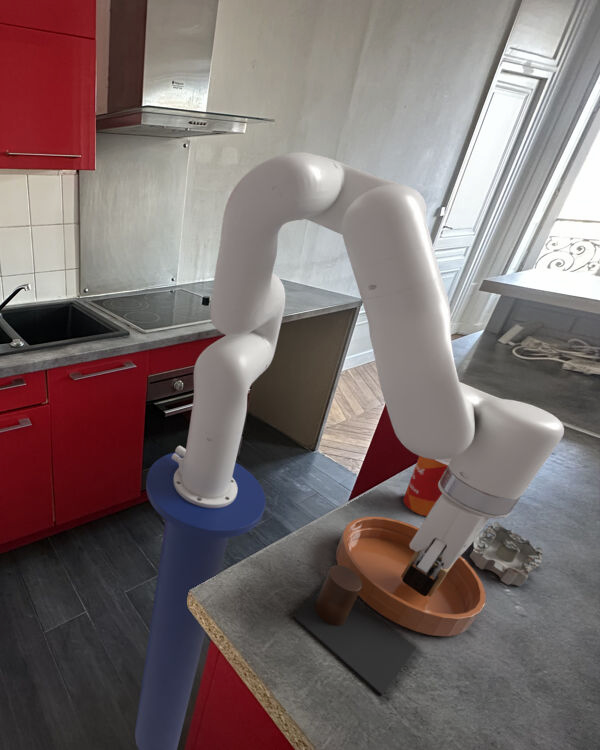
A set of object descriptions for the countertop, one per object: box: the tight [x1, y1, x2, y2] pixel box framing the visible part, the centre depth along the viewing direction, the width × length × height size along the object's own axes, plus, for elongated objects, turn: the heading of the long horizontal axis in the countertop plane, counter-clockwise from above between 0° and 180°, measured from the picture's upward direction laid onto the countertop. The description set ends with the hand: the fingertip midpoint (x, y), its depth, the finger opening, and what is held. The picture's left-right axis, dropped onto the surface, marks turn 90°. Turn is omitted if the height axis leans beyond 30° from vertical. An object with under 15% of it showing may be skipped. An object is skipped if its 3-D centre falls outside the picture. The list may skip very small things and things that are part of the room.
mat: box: [292, 589, 417, 697], centre depth 57 cm, size 12×10×1 cm
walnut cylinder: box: [315, 564, 362, 626], centre depth 58 cm, size 4×4×8 cm
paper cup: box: [403, 455, 452, 517], centre depth 77 cm, size 8×8×14 cm
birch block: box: [401, 549, 456, 597], centre depth 61 cm, size 4×4×6 cm
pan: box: [335, 516, 487, 637], centre depth 64 cm, size 18×18×4 cm
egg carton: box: [468, 520, 544, 587], centre depth 69 cm, size 11×8×4 cm
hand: (421, 579), depth 62 cm, fingers closed on birch block, 4 cm apart
